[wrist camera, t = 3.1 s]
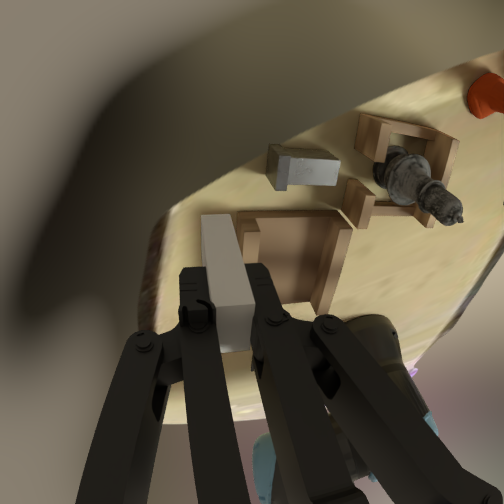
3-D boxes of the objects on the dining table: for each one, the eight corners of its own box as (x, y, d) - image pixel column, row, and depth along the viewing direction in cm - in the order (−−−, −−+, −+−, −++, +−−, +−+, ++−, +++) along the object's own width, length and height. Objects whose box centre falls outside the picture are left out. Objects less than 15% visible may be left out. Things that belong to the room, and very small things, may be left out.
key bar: (323, 177, 31) (337, 191, 28) (265, 175, 30) (275, 190, 27) (328, 147, 29) (344, 159, 26) (269, 143, 28) (279, 155, 25)
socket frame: (414, 211, 36) (432, 228, 33) (341, 210, 34) (357, 229, 30) (437, 129, 30) (459, 141, 26) (360, 113, 27) (381, 122, 24)
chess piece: (371, 145, 30) (446, 196, 20) (414, 141, 30) (490, 187, 21) (369, 194, 33) (432, 257, 24) (410, 187, 34) (475, 243, 24)
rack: (316, 292, 40) (327, 314, 37) (232, 299, 38) (237, 323, 35) (337, 210, 34) (353, 229, 30) (237, 211, 31) (244, 232, 28)
